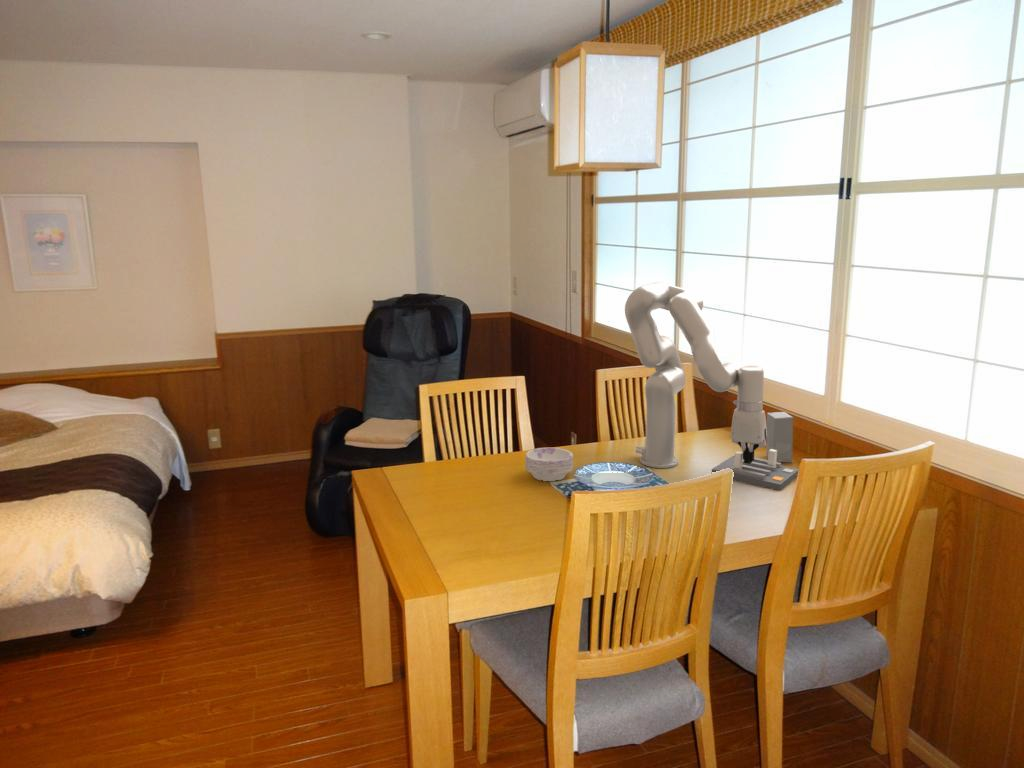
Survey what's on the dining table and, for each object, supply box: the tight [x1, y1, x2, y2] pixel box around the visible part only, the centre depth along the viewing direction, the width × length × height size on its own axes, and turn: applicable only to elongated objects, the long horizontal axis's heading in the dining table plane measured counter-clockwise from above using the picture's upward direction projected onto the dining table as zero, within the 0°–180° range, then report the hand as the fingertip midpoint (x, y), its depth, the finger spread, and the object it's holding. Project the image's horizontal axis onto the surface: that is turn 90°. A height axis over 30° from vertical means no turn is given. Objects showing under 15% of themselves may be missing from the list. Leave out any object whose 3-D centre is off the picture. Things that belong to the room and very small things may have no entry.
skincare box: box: [765, 411, 794, 463], centre depth 250 cm, size 8×7×16 cm
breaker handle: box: [767, 449, 777, 466], centre depth 237 cm, size 2×2×6 cm
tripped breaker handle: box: [734, 451, 743, 469], centre depth 235 cm, size 2×2×6 cm
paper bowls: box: [524, 446, 574, 482], centre depth 236 cm, size 15×15×8 cm
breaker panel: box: [711, 455, 800, 492], centre depth 236 cm, size 22×17×3 cm
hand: (748, 462), depth 233 cm, fingers closed
